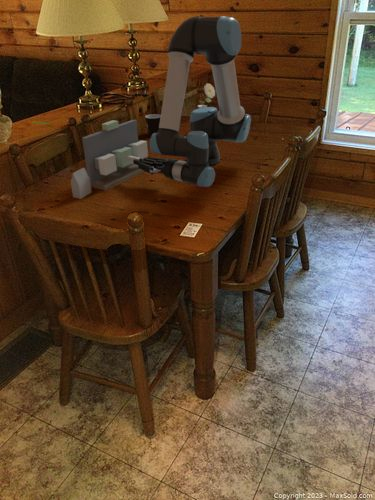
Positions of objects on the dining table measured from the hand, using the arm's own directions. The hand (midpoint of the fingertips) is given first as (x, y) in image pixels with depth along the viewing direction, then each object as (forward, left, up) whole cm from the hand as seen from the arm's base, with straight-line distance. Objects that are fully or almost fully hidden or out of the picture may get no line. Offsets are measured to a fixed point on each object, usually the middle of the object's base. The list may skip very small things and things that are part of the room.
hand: (129, 159), depth 176 cm
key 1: (+9, +7, -3) cm, 12 cm away
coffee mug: (+11, -64, -9) cm, 65 cm away
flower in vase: (-14, -74, -9) cm, 76 cm away
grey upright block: (+13, +18, -9) cm, 25 cm away
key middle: (+5, -3, -3) cm, 7 cm away
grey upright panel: (+9, -4, -9) cm, 13 cm away
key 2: (+2, -12, -3) cm, 13 cm away
